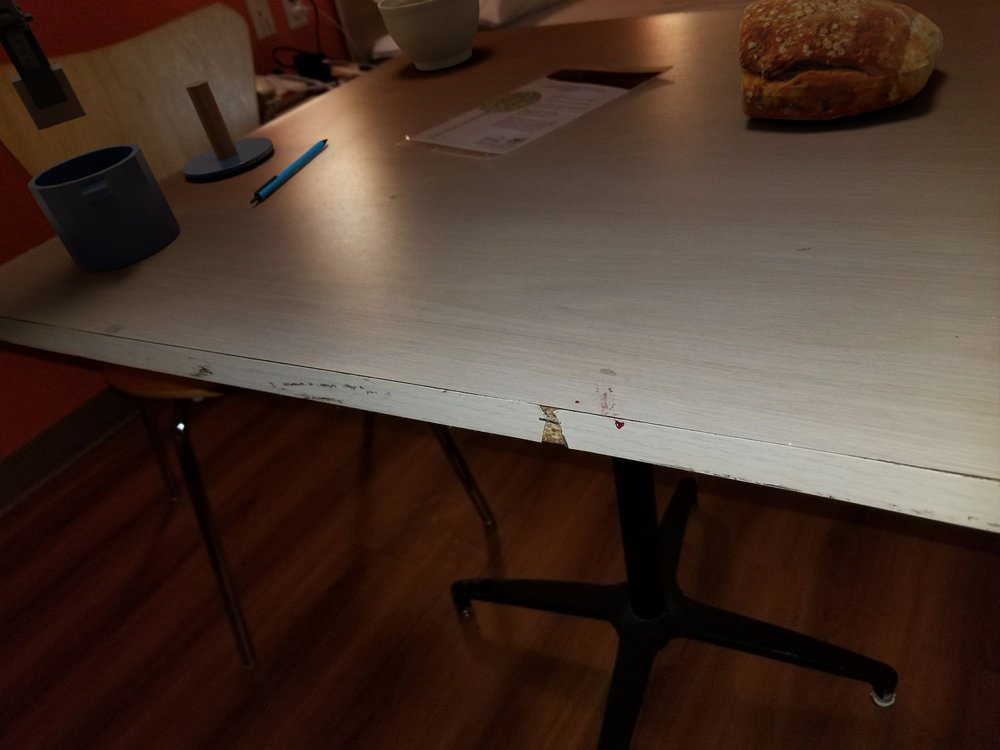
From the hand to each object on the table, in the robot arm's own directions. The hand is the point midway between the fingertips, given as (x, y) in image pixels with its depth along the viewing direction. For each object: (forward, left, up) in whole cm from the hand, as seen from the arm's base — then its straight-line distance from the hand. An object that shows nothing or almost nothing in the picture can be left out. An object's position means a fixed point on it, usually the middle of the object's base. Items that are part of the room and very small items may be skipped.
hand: (52, 100), depth 71 cm
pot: (0, +1, -16) cm, 16 cm away
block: (0, 0, -2) cm, 2 cm away
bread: (+68, -36, -16) cm, 79 cm away
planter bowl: (+56, +30, -16) cm, 65 cm away
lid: (+16, +18, -16) cm, 29 cm away
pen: (+21, +4, -16) cm, 27 cm away
